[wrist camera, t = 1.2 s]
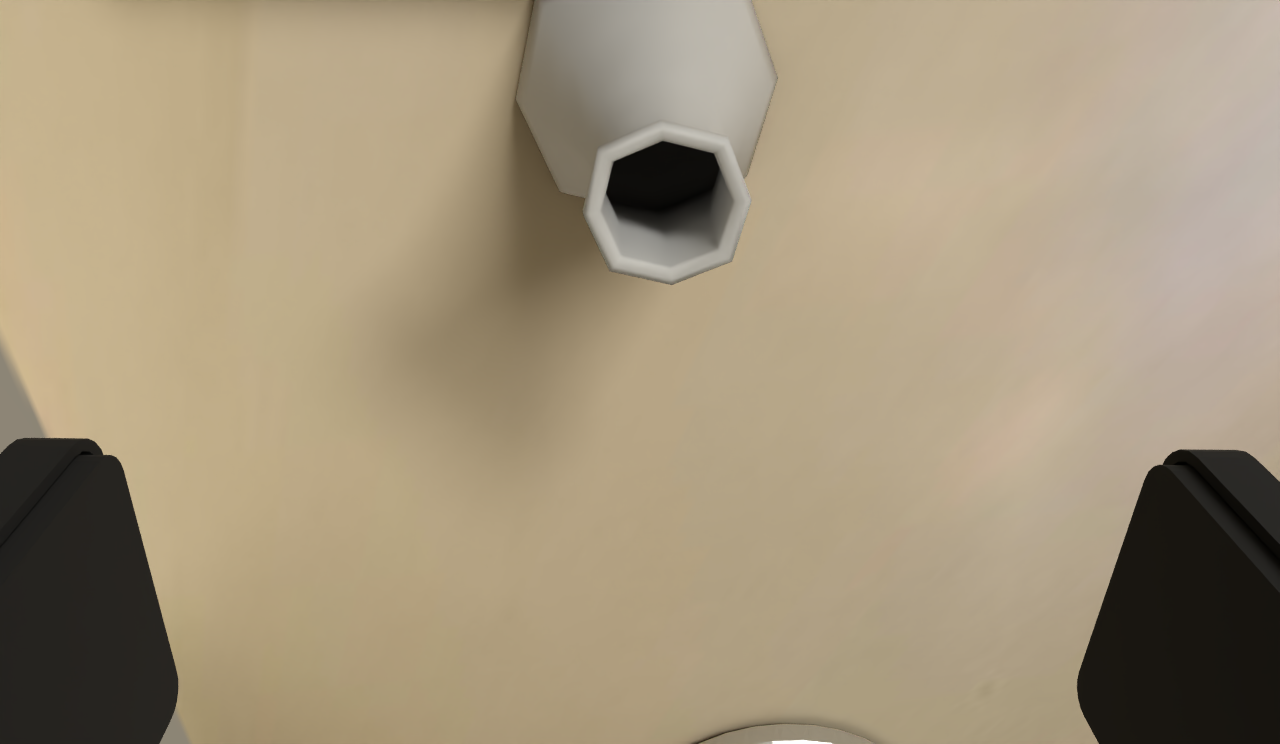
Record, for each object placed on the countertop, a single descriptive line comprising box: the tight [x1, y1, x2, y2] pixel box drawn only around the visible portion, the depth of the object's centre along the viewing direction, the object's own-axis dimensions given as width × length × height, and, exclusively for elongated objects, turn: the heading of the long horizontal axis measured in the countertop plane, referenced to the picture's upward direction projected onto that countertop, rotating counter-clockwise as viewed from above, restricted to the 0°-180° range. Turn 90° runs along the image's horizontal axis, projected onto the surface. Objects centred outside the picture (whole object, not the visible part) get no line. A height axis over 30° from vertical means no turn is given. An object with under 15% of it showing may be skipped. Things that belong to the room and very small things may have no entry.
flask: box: [516, 0, 778, 285], centre depth 23 cm, size 7×7×10 cm
